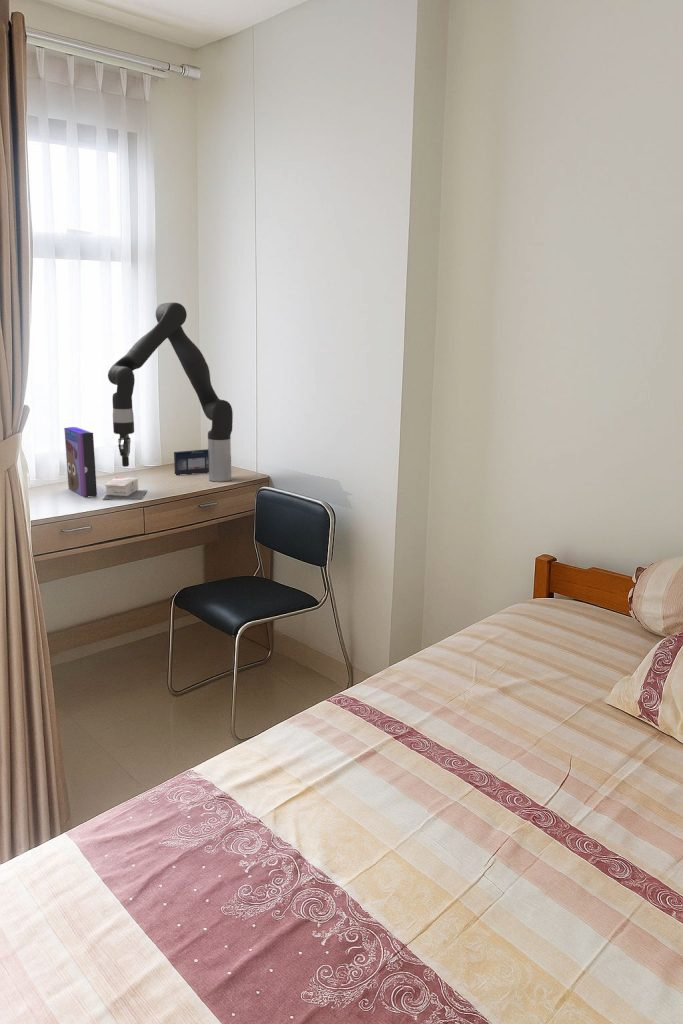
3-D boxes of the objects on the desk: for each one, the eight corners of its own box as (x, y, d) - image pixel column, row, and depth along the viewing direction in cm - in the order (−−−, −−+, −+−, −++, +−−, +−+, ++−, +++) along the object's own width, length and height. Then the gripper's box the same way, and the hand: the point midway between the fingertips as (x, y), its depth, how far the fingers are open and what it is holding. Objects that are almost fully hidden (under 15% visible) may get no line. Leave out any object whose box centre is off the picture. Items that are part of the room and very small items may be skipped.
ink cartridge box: (117, 489, 302) (102, 497, 288) (116, 476, 301) (101, 483, 287) (138, 490, 301) (125, 498, 287) (138, 477, 300) (124, 484, 286)
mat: (147, 491, 301) (146, 490, 301) (141, 499, 287) (141, 498, 287) (109, 491, 299) (109, 490, 299) (102, 500, 286) (102, 498, 286)
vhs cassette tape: (176, 475, 330) (175, 452, 328) (174, 474, 333) (173, 451, 330) (217, 472, 339) (216, 449, 337) (214, 471, 342) (214, 448, 339)
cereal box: (68, 488, 302) (64, 427, 297) (80, 487, 305) (76, 426, 299) (84, 497, 289) (80, 433, 283) (97, 495, 292) (93, 432, 286)
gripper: (130, 422, 284) (133, 469, 288) (136, 418, 297) (138, 462, 301) (109, 422, 283) (112, 469, 288) (116, 418, 296) (118, 462, 300)
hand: (125, 466), depth 294 cm, fingers closed
